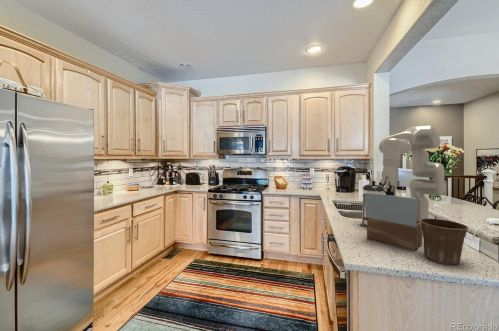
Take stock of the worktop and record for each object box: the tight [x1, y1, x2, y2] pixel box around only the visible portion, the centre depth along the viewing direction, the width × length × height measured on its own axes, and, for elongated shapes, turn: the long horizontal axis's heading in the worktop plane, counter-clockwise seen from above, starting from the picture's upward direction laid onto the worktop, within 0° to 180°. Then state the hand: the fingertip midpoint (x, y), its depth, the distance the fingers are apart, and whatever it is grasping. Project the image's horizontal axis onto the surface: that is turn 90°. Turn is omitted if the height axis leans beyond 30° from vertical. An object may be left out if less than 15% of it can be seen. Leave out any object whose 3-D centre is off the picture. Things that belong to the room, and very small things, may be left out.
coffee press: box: [360, 180, 386, 227], centre depth 149 cm, size 17×16×30 cm
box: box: [366, 218, 423, 252], centre depth 122 cm, size 14×22×12 cm, turn 42°
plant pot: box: [420, 217, 469, 266], centre depth 101 cm, size 16×16×16 cm
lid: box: [364, 192, 417, 227], centre depth 116 cm, size 14×23×1 cm
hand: (390, 199), depth 116 cm, fingers closed
